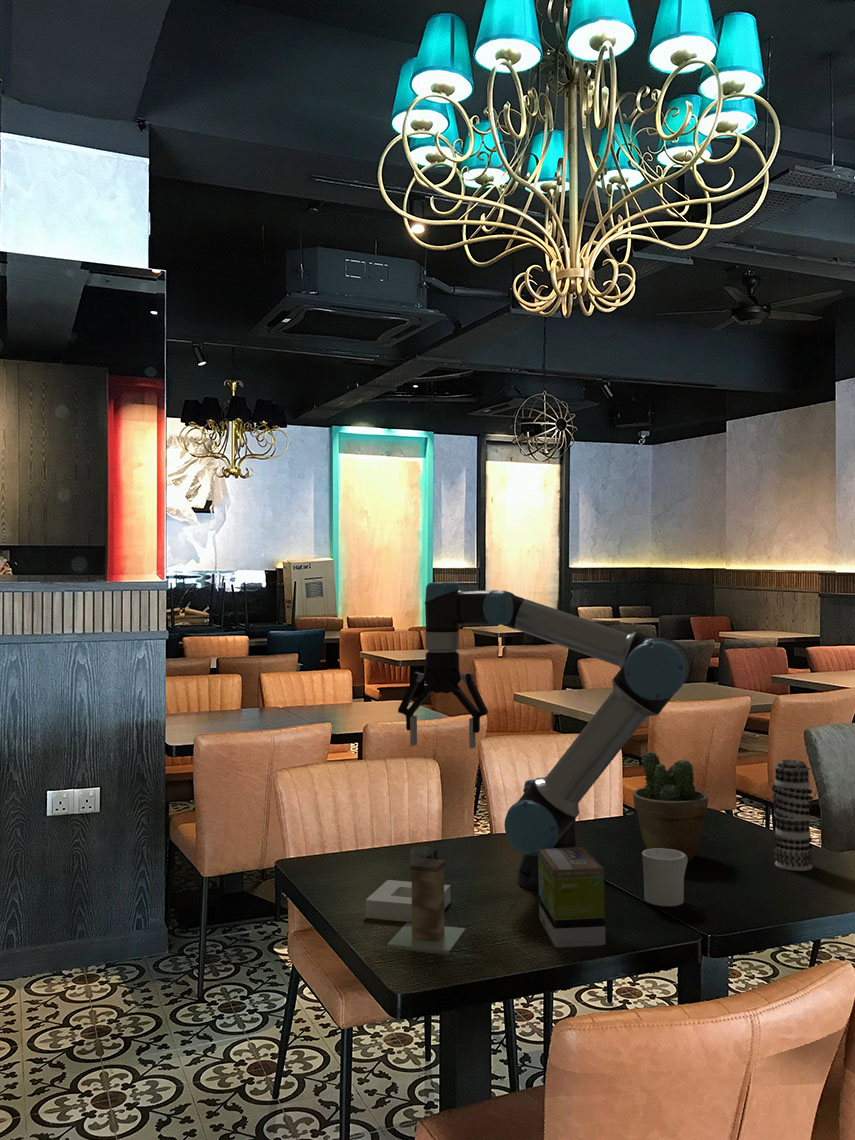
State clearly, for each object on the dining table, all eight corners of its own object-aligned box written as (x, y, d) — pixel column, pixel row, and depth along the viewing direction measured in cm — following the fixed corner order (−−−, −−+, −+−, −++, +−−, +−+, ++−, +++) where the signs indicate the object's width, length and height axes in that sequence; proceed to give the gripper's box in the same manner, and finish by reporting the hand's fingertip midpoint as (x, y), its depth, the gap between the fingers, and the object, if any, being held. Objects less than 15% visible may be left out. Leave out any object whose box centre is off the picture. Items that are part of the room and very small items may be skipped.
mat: (465, 931, 182) (465, 928, 182) (449, 953, 171) (449, 950, 171) (406, 925, 186) (406, 922, 186) (387, 947, 174) (387, 944, 174)
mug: (662, 912, 193) (661, 861, 193) (633, 900, 201) (633, 851, 201) (702, 904, 198) (701, 854, 198) (672, 892, 206) (672, 845, 206)
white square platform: (450, 904, 199) (450, 885, 199) (432, 926, 185) (432, 905, 185) (387, 898, 203) (387, 879, 203) (365, 919, 189) (365, 899, 189)
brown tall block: (445, 932, 180) (445, 860, 180) (438, 942, 175) (437, 867, 175) (418, 929, 182) (418, 858, 182) (410, 939, 176) (410, 865, 177)
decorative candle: (772, 869, 223) (770, 763, 224) (773, 859, 232) (772, 757, 233) (813, 873, 220) (812, 765, 221) (813, 862, 229) (811, 759, 229)
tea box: (537, 921, 188) (536, 846, 189) (586, 919, 189) (585, 845, 190) (553, 948, 173) (553, 868, 174) (607, 946, 174) (606, 866, 175)
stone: (448, 842, 210) (408, 836, 215) (434, 880, 203) (393, 874, 207) (458, 867, 216) (419, 862, 220) (445, 905, 209) (404, 899, 213)
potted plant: (718, 852, 238) (716, 753, 239) (696, 870, 222) (695, 764, 223) (648, 843, 248) (646, 748, 249) (622, 859, 232) (621, 758, 233)
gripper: (500, 650, 210) (501, 746, 210) (394, 649, 217) (395, 741, 217) (493, 652, 203) (493, 751, 202) (384, 651, 210) (384, 746, 209)
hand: (442, 746), depth 209 cm, fingers open, 13 cm apart
